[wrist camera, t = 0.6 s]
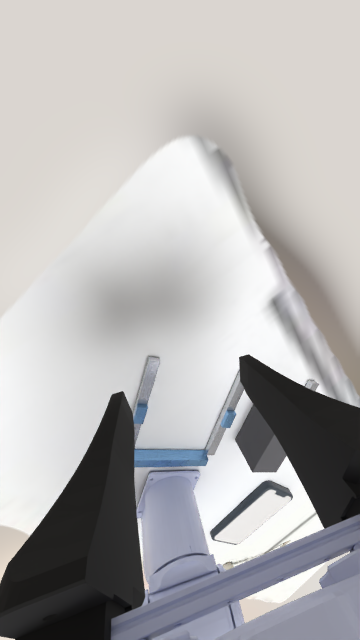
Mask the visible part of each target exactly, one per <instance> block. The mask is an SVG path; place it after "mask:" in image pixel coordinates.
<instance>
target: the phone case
mask: <svg viewBox="0 0 360 640" xmlns="http://www.w3.org/2000/svg"><path fill="white" fill-rule="evenodd" d="M292 498H293V496H292V494H291V492H290V491H289V489H287V488H285V487H283V486H280V485H278V484H276V483H274V482H271V481H265V482H263V483H262V484H261V485H260V486H258V487H257V488H256V489H255V490H254V491H253V492H252V493H251V494H250V495H249V496H248V497H247V498H246V499H244V500H243V501H242V502H241V503H240V504H239V505H238V506H237V507H236V508H235V509H234V510H233V511H232V512H231V513H230V514H228V515H227V516H226V517H225V518H224V519H223V520H222V521H221V522H220V523H219V524H218V525H217V526H216V527H215V528H214V529H212V531H211V532H210V534H211V537H212V539H213V540H215V541H220V542H225V543H230V544H234V545H236V544H240V543H241V542H243V541H244V540H245V539H246V538H247V537H248V536H250V535H251V534H252V533H253V532H254V531H255V530H257V529H258V528H259V527H260V526H261V525H263V524H264V523H265V522H266V521H267V520H268V519H270V518H271V517H272V516H273V515H274V514H276V513H277V512H278V511H279V510H280V509H281V508H283V507H284V506H285V505H286V504H287V503H289V502H290V501H291V500H292Z"/></svg>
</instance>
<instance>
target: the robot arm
mask: <svg viewBox="0 0 360 640" xmlns="http://www.w3.org/2000/svg"><path fill="white" fill-rule="evenodd" d="M239 362H240V382H241V384H242V386H243V388H244V389H245V391H246V393H247V395H248V397H249V398H250V399H251V401H252V402H253V404H254V405H255V407H256V408H257V410H258V411H259V412H260V414H261V415H262V417H263V418H264V419H265V421H266V422H267V424H268V425H269V427H270V428H271V430H272V431H273V433H274V434H275V436H276V437H277V439H278V441H279V443H280V444H281V446H282V448H283V450H284V451H285V453H286V455H287V457H288V459H289V460H290V462H291V464H292V466H293V468H294V469H295V471H296V473H297V475H298V477H299V479H300V481H301V483H302V485H303V486H304V488H305V490H306V492H307V494H308V496H309V498H310V500H311V502H312V504H313V506H314V508H315V510H316V512H317V514H318V516H319V518H320V521H321V523H322V525H323V527H324V528H325V529H323V530H321V531H318V532H316V533H314V534H311V535H309V536H306V537H304V538H302V539H299V540H297V541H295V542H292V543H290V544H288V545H285V546H283V547H280V548H278V549H276V550H273V551H271V552H269V553H266V554H264V555H261V556H259V557H257V558H254V559H252V560H250V561H247V562H245V563H243V564H240V565H238V566H235V567H233V568H231V569H228V570H226V569H225V568H224V567H223V566H222V565H221V564H217V565H216V563H215V559H214V555H213V554H212V555H210V554H209V550H208V546H207V542H206V538H205V534H204V530H203V527H202V523H201V519H200V515H199V511H198V507H197V503H196V499H195V495H194V492H193V490H194V488H195V485H196V483H197V481H198V479H199V476H200V472H199V471H174V472H151V473H150V474H149V475H148V478H147V481H146V484H145V487H144V490H143V492H142V495H141V498H140V501H139V504H138V507H137V510H136V499H135V485H134V453H135V430H134V420H133V413H132V411H131V408H130V406H129V404H128V401H127V399H126V397H125V394H124V392H123V391H122V392H119V393H115V394H112V396H111V398H110V401H109V403H108V406H107V409H106V411H105V414H104V416H103V418H102V421H101V423H100V425H99V427H98V430H97V432H96V434H95V436H94V438H93V440H92V442H91V444H90V446H89V448H88V450H87V452H86V454H85V456H84V457H83V459H82V461H81V463H80V464H79V466H78V468H77V470H76V471H75V473H74V474H73V476H72V478H71V479H70V481H69V482H68V484H67V486H66V487H65V489H64V490H63V492H62V493H61V495H60V496H59V498H58V499H57V500H56V502H55V503H54V505H53V506H52V507H51V509H50V510H49V512H48V513H47V514H46V516H45V517H44V519H43V520H42V521H41V523H40V524H39V525H38V527H37V528H36V529H35V531H34V532H33V533H32V534H31V536H30V537H29V538H28V540H27V541H26V542H25V543H24V545H23V546H22V547H21V549H20V550H19V551H18V552H17V554H16V555H15V556H14V557H13V558H12V560H11V561H10V562H9V563H8V565H7V568H6V570H5V573H4V575H3V578H2V580H1V583H0V636H1V637H7V638H13V639H15V640H360V408H358V407H355V406H352V405H349V404H346V403H343V402H341V401H338V400H335V399H333V398H330V397H327V396H325V395H322V394H320V393H318V392H315V391H313V390H311V389H309V388H306V387H304V386H302V385H300V384H298V383H296V382H294V381H292V380H291V379H289V378H287V377H285V376H283V375H281V374H280V373H278V372H276V371H275V370H273V369H271V368H270V367H268V366H266V365H265V364H263V363H261V362H260V361H258V360H257V359H255V358H253V357H252V356H250V355H249V354H248V355H245V356H241V357H239ZM137 518H141V520H142V542H143V565H144V573H145V577H146V580H147V582H148V584H149V593H148V590H145V589H144V581H143V572H142V563H141V554H140V544H139V534H138V523H137ZM349 551H350V553H349V554H347V555H346V556H344V557H342V558H341V559H339V560H338V561H336V562H334V563H332V564H331V565H329V566H328V571H327V573H326V574H325V575H324V576H323V577H322V578H320V582H319V583H320V585H321V587H322V589H320V590H318V591H315V592H313V593H310V594H308V595H306V596H303V597H301V598H299V599H297V600H294V601H292V602H290V603H287V604H285V605H283V606H281V607H279V608H277V609H274V610H272V611H270V612H268V613H266V614H264V615H262V616H259V617H257V618H256V619H253V620H251V621H249V622H247V623H244V618H243V614H242V610H241V607H240V603H239V600H241V599H243V598H245V597H248V596H250V595H252V594H254V593H257V592H259V591H261V590H263V589H266V588H268V587H270V586H272V585H275V584H277V583H279V582H281V581H284V580H286V579H288V578H290V577H293V576H295V575H297V574H299V573H302V572H304V571H306V570H308V569H311V568H313V567H315V566H317V565H320V564H322V563H324V562H326V561H329V560H331V559H333V558H335V557H338V556H340V555H342V554H344V553H346V552H349Z"/></svg>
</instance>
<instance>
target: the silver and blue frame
mask: <svg viewBox="0 0 360 640" xmlns="http://www.w3.org/2000/svg"><path fill="white" fill-rule="evenodd" d="M159 364H160V359H159V358H157V357H150V356H149V358H148V361H147V365H146V368H145V372H144V375H143V379H142V382H141V386H140V389H139V393H138V396H137V400H136V403H135V407H134V410H133V420H134V430H135V443H136V440H137V436H138V433H139V430H140V426H141V424H143V422H144V418H145V415H146V412H147V409H148V406H147V403H148V400H149V397H150V394H151V390H152V387H153V384H154V380H155V377H156V374H157V371H158V367H159ZM318 385H319V384H318V383H317V382H315V381H312V380H308V382H307V384H306V385H305V387H306V388H309V389H311V390H313V391H315V390H316V389H317V387H318ZM243 390H244V388H243V386H242V384H241V382H240V370H239V373H238V375H237V377H236V379H235V382H234V384H233V386H232V389H231V391H230V393H229V396H228V398H227V400H226V402H225V405H224V407H223V409H222V412H221V414H220V416H219V419H218V421H217V423H216V425H215V428H214V430H213V432H212V435H211V437H210V439H209V442H208V444H207V446H206V448H205V450H135V453H134V467H176V466H206V464H207V462H208V457H207V455H214V454H215V452H216V450H217V447H218V445H219V443H220V441H221V439H222V436H223V434H224V432H225V430H226V428H230V427H231V425H232V422H233V420H234V418H235V416H236V413H235V411H234V410H235V408H236V406H237V404H238V401H239V399H240V397H241V395H242V393H243Z"/></svg>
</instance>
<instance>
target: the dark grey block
mask: <svg viewBox="0 0 360 640" xmlns="http://www.w3.org/2000/svg"><path fill="white" fill-rule="evenodd" d="M235 440H236V442H237V444H238V446H239V448H240V450H241V452H242V454H243V455H244V457H245V459H246V461H247V463H248V465H249V467H250V469H251V470H252V472H277V470H278V468H279V467H280V465H281V464H282V462H283V460H284V459H285V457H286V456H287V455H286V453H285V451H284V450H283V448H282V446H281V444H280V443H279V441H278V439H277V437H276V436H275V434H274V433H273V431H272V430H271V428H270V427H269V425H268V424H267V422H266V421H265V419H264V418H263V417H262V415H261V414H260V412H259V411H258V410H257V408H256V407H255V405H254V404H253V406H252V408H251V410H250V412H249V414H248V416H247V418H246V420H245V422H244V424H243V426H242V428H241V429H240V431H239V433H238V435H237V437H236V439H235Z"/></svg>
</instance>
